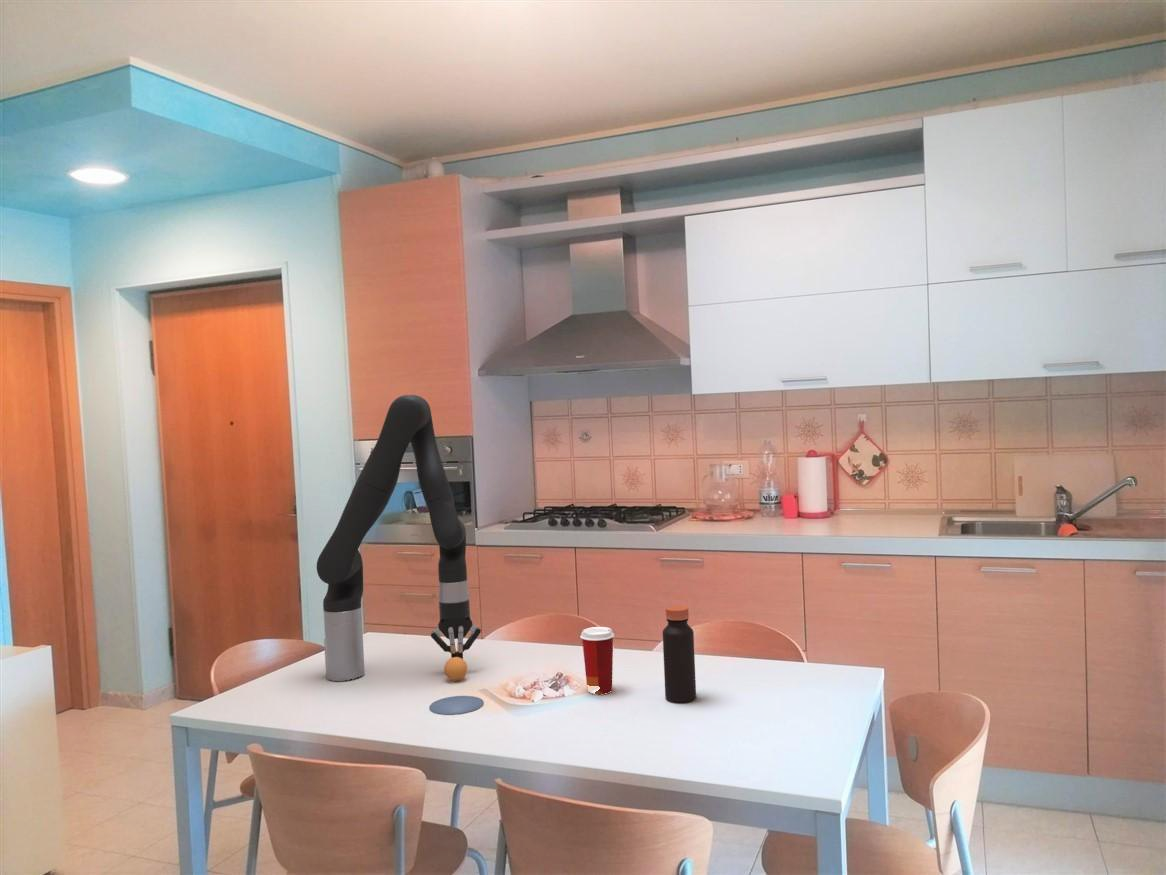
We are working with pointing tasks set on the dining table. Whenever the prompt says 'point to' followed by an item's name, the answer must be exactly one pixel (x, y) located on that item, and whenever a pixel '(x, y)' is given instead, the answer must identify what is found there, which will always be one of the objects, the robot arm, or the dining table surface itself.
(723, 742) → the dining table surface
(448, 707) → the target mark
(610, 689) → the paper cup
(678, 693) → the bottle
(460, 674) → the ball
